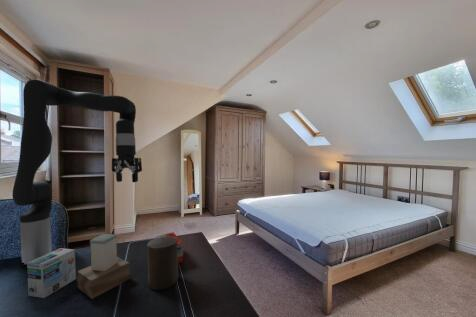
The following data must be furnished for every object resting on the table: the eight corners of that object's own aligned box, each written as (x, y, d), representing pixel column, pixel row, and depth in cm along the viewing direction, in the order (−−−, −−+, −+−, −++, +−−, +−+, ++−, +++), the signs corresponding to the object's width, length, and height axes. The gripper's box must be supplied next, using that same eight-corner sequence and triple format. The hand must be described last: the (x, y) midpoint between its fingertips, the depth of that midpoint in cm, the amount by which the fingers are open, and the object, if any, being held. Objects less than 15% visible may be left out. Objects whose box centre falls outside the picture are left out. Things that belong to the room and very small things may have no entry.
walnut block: (78, 288, 69) (77, 271, 69) (115, 271, 79) (115, 255, 79) (92, 299, 64) (91, 280, 64) (130, 279, 74) (129, 262, 74)
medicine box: (155, 253, 93) (154, 235, 93) (173, 248, 97) (173, 231, 97) (163, 268, 80) (163, 248, 80) (184, 262, 85) (183, 242, 84)
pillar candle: (166, 292, 66) (165, 245, 66) (141, 287, 69) (140, 242, 69) (183, 275, 75) (182, 234, 75) (160, 271, 78) (159, 231, 78)
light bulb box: (44, 299, 64) (42, 264, 64) (27, 296, 66) (25, 262, 66) (77, 278, 75) (75, 248, 75) (61, 276, 76) (60, 247, 76)
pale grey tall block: (91, 270, 70) (89, 240, 69) (104, 261, 75) (103, 234, 75) (105, 271, 69) (103, 241, 68) (117, 262, 74) (116, 234, 74)
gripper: (105, 144, 89) (106, 182, 90) (131, 143, 85) (133, 183, 85) (120, 145, 97) (121, 180, 97) (145, 144, 92) (146, 181, 93)
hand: (127, 181), depth 91 cm, fingers open, 8 cm apart
